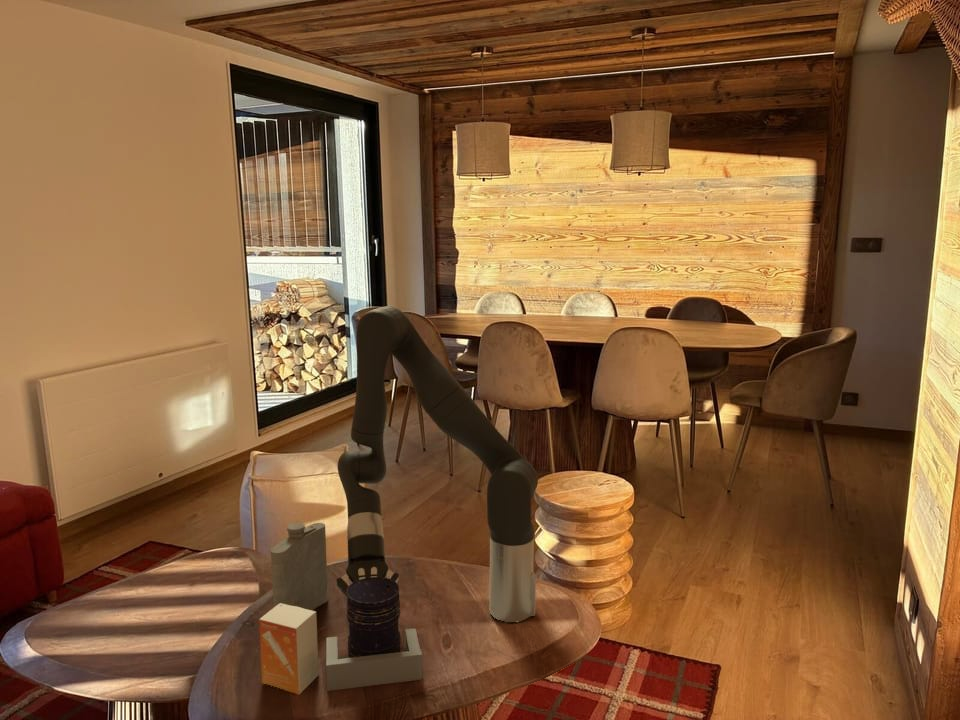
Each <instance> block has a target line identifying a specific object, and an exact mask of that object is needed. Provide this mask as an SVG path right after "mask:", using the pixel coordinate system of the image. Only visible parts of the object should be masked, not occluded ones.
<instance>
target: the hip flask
mask: <svg viewBox="0 0 960 720" xmlns="http://www.w3.org/2000/svg"><path fill="white" fill-rule="evenodd" d="M286 531H287V532H288V536H286V537H284V538H283V539H282V540H281V541H279V542H278V543H276V545H274V546H273V547H272V548H270V563H271V564H270V565H271V581H272V583H271V584H272V587H271V588H272V604H273V608H274V607H275V606H277V605H278V604H280V603H282V604H286V605H291V606H297V607H301V608H304V609H308V610H312V611H315V610H316V609H317V608H318V607H321V606H322V605H323V604H326V603H327V602H328V600H329V597H328V596H329V591H328V569H327V568H328V567H327V566H328V565H327V543H326V542H327V538H326V537H327V535H326V534H327V533H326V524H325V523H323V522H316V523H315V522H314V523H312V524H309V525H307V526H306V525H305V523H303V522H299V521H298V522H292V523H289V524H288V525H287V526H286Z"/></svg>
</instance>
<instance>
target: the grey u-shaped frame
mask: <svg viewBox="0 0 960 720" xmlns="http://www.w3.org/2000/svg"><path fill="white" fill-rule="evenodd" d="M404 634H405V636H404V640H405V642H404V643H405V644H404V645H405V651H400V652H397V653H388V654H379V655H370V656H362V657H353V658H349V657H346V658H339V654H338V651H339V649H338V636H330V637H326V652H325V653H326V660H325V666H326V668H325V670H326V691H327V692H328V691H338V690H343V689H353V688H354V689H355V688H361V687H362V688H363V687H368V686H369V687H370V686H378V685H379V686H380V685H385V684H393V683H395V684H397V683H403V682H404V683H405V682H411V681H419V680H423V654H422V653H423V652H422V649H420V648H421V647H420V643H419V639H418V634H417V630H416V628H405V629H404Z"/></svg>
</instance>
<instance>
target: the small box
mask: <svg viewBox="0 0 960 720" xmlns="http://www.w3.org/2000/svg"><path fill="white" fill-rule="evenodd" d="M258 620H259V621H258V622H259V643H260V647H259V648H260V665H261V666H260V667H261V684H262V683H264V684H268V685H271V686H270V687H272V686H274V687H273V688H275V687H277V688H276V689H279V688H280V689H279V690H282V689H283V691H287V692H289V693H293V694H295V695H301V694H302V692H303V691H304V690H305V689H307V688H308V687H309V685H310V684H311V683H312V682H314V680H315V679H316V678H317V677H318V676H319V653H318V652H319V651H318V650H319V648H318V626H317V624H318V623H317V622H318V621H317V611H315V610H308V609H304V608H301V607H297V606H291V605H286V604H282V603H280V604H278V605H277V606H275V607H273V608H272V609H270V610H269V611H268V612H267V613H265V614H264V615H263V616H261V617H260V618H259V619H258ZM264 684H263V685H264ZM268 685H267V686H268Z"/></svg>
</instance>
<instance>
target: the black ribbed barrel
mask: <svg viewBox="0 0 960 720" xmlns="http://www.w3.org/2000/svg"><path fill="white" fill-rule="evenodd" d="M400 608H401V599H400V586H399V584H398V582H397V583H396V582H395V581H393V580H391V579H388V578H387V577H384V578H383V577H370V578H364V579H360V580H358V581H356V582H354V583H351V584H349V587H348V589H347V597H346V618H347V622H348V633H349V634H348V635H347V642H346V643H347V655H348V658H353V657H362V656H370V655H379V654H388V653H397V652H401V650H402V648H401V647H402V646H401V645H402V643H401V637H402V636H401V633H400V629H399V628H400V627H399V619H400V617H401V616H400V615H401V609H400Z"/></svg>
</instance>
